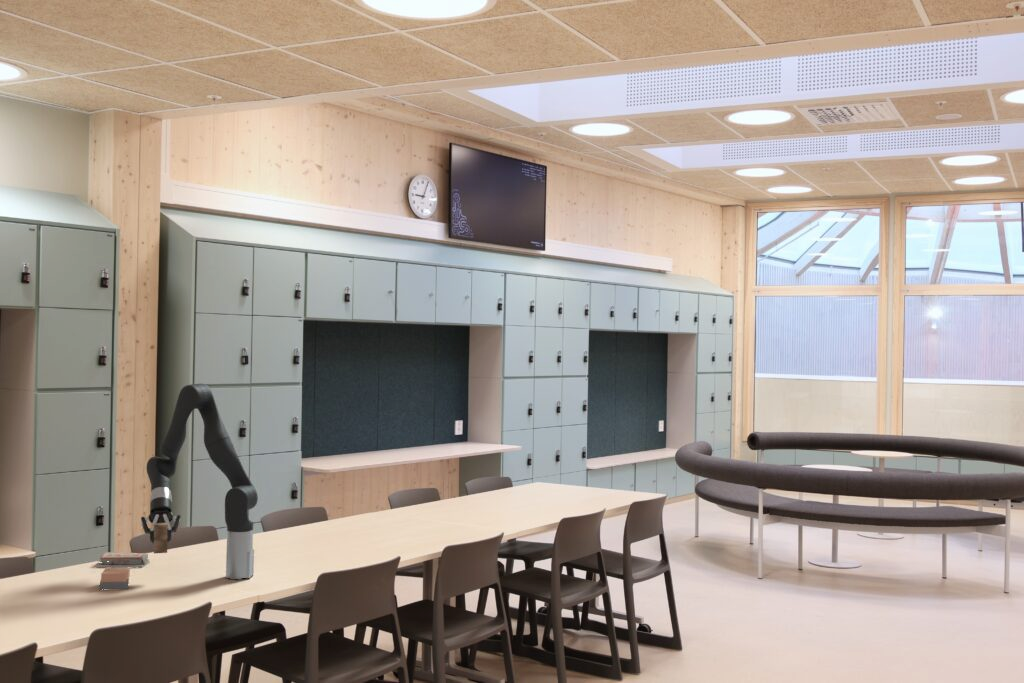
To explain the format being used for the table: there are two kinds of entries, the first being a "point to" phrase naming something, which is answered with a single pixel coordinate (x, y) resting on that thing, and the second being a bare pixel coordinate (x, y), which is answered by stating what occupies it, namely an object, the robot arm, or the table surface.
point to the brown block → (160, 537)
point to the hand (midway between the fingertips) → (160, 541)
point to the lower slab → (114, 585)
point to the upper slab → (115, 575)
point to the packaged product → (123, 560)
